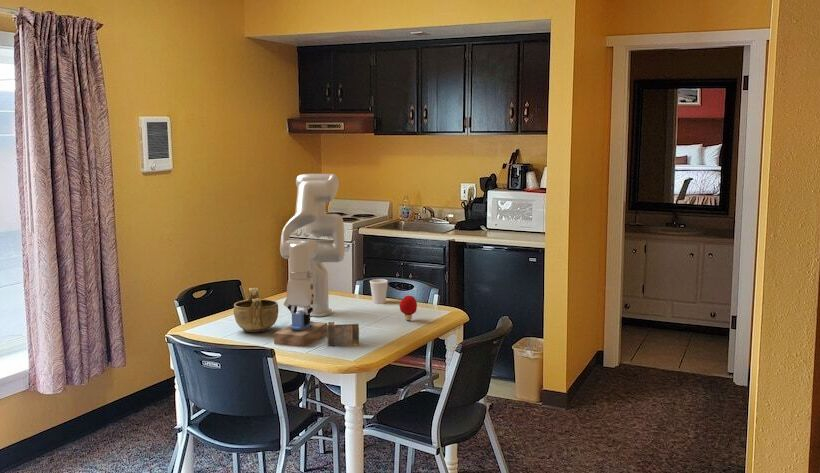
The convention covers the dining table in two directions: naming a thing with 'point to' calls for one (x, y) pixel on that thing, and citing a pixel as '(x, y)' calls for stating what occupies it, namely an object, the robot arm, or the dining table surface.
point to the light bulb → (408, 306)
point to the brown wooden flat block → (300, 335)
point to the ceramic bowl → (255, 312)
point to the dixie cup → (378, 290)
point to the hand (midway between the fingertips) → (301, 323)
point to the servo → (299, 321)
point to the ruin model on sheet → (343, 334)
